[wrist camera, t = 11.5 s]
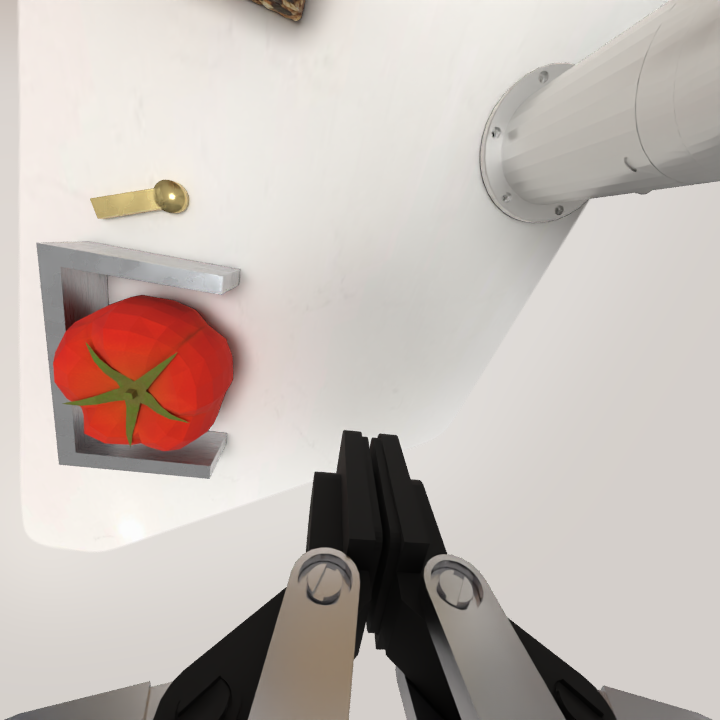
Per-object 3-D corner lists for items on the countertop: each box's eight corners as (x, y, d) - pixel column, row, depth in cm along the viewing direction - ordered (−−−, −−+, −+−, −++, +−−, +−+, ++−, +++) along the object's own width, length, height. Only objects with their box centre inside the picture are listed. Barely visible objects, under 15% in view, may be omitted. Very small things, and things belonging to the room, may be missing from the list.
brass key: (183, 179, 31) (178, 177, 30) (192, 210, 32) (188, 210, 31) (94, 193, 30) (87, 192, 29) (106, 224, 31) (100, 224, 30)
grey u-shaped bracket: (240, 269, 34) (222, 276, 28) (226, 444, 40) (209, 478, 34) (88, 241, 32) (36, 242, 26) (98, 430, 38) (59, 464, 32)
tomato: (80, 320, 34) (-21, 355, 24) (202, 268, 33) (150, 282, 23) (159, 430, 39) (102, 497, 29) (267, 386, 38) (246, 439, 28)
